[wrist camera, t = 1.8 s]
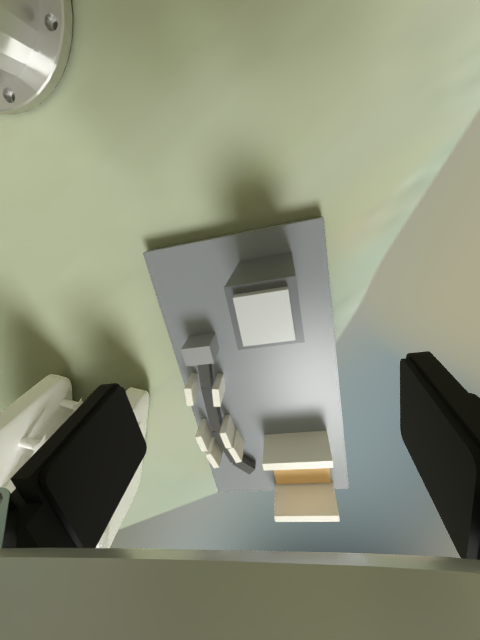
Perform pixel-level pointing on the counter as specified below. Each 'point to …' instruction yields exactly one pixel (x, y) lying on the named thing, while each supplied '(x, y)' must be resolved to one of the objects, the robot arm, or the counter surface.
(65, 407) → the cable organizer
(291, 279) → the block
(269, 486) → the board
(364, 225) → the counter surface
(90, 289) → the counter surface
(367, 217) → the counter surface
